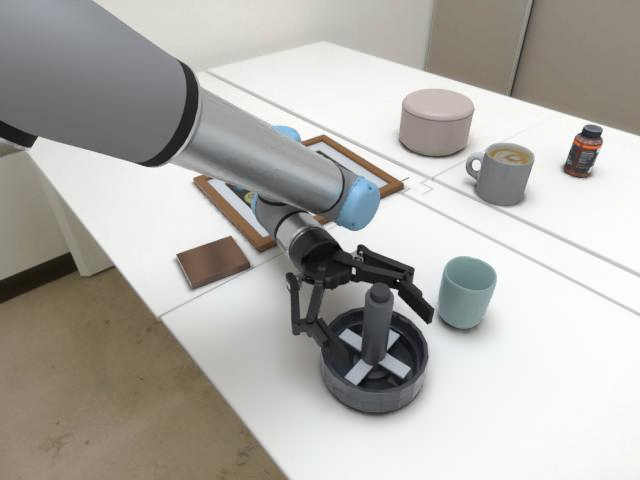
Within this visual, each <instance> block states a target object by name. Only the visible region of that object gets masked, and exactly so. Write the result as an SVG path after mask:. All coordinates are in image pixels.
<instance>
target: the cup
mask: <svg viewBox="0 0 640 480" xmlns="http://www.w3.org/2000/svg"><path fill="white" fill-rule="evenodd" d="M497 282H498V275H497V271H496V270H495V268H494V267H493V266H492V265H491V264H489V262H486V261H484V260H482V259H481V258H477V257H473V256H468V255H460V256H455V257H453V258H451V259H449V260H448V262H446V264H445V266H444V268H443V271H442V275H441V280H440V283H439V289H438V295H437V310H438V314H439V316H440V317H441V319H442V320H443V321H444V322H445V323H447V324H448V325H450V326H451V327H453V328H457V329H463V330H466V329H471V328H473V327H475V326H477V325H478V324H479V323H480V322H481V321H482V319H483V318H484V316H485V315H486V313H487V311H488V309H489V306H490V303H491V302H492V298H493V295H494V293H495V290H496V286H497Z"/></svg>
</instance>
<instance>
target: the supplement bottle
mask: <svg viewBox="0 0 640 480" xmlns="http://www.w3.org/2000/svg"><path fill="white" fill-rule="evenodd" d="M603 132H604V128H603V127H602V126H600V125H597V124H591V123H589V124H584V125H583V127H582V129H581V132H578V133H577V134H576V135H575V136H574V138H573V141H572V143H571V146H570V149H569V151H568V154H567V157H566V159H565V162H564V166H563V170H564V171H565V172H566V173H567V174H569V175H570V176H574V177H579V178H581V177H583V178H584V177H587V176H589V175H590V174H591V172H592V170H593V168H594V166H595V163H596V161H597V158H598V156H599V153H600V151H601V149H602V147H603V144H604V139H603V137H602V135H603Z"/></svg>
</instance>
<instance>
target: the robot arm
mask: <svg viewBox="0 0 640 480" xmlns="http://www.w3.org/2000/svg"><path fill="white" fill-rule="evenodd" d="M38 138H42V139H46V140H49V141H52V142H56V143H60V144H64V145H67V146H71V147H74V148H78V149H81V150H86V151H90V152H94V153H97V154H101V155H104V156H108V157H111V158H113V159H114V158H115V159H119V160H122V161H126V162H128V163H133V164H135V165H139V166H141V167H145V168H147V169H148V168H150V169H155V168H157V169H158V168H160V167H164V166H166V165H169V164H171V165H174V166H178V167H180V168H182V169H185V170H188V171H191V172H194V173H197V174H200V175H205V176H208V177H211V178H214V179H217V180H220V181H223V182H225V183H228V184H231V185H234V186H237V187H240V188H243V189H246V190H248V191H251V192H254V193H255V194H254V196H253V199H252V201H251V209H252V212H253V214H254V216H255V217H256V220H257V221H258V222H259V224H260V225H261V226H262V227H263V228H264V229H265V230H266V232H267V233H268V234H269V235H270V236H271V237H272V239H273V240H274V241H275V242H276V243H277V245H276V246H278V247H279V248H280V250H281V251H282V253H284V255H285V256H286V257H287V259H288V260H289V261H290V262H291V264H292V265H293V267H294V268H296V270H297V271H298V272H299V273H296V274H295V273H294V272H292V271H289V272H287V273H285V285H286V289H287V291H288V293H289V294H290V295H289V296H290V325H291V335H293V336H294V337H298V336H300V335H301V334H304V333H305V334H306V337H308V338H312V339H313V341H314V342H315V343H316V345H317V347H319V349H320V350H321V349H324V348H326V347H328V349H329V350H330V351H331V353H332V354H333V356H334V357H335V358H336V360H337V361H338V362H339V364H340V365H341V366H342V368H345V367H347V366H348V358H349V352H348V351H347V349H346V348H345V347H344V346H343V344H342V343H341V342H340V340H339V339H338V338H337V337H336V335H335V334H334V333H333V331H332V330H331V329H330V328H329V326H328V324H327V322H326V321H325V319H323V317H322V316H321V317H319V315H320V312H321V306H322V303H323V299H324V296H325V291H326V290H330V291H333V290H335V289H337V288H338V287H340V286H345V285H347V284H350V282H351V283H355V284H359V283H366V284H371V285H373V284H375V283H384V284H386V285H388V286H389V288H390V290H396V291H397V296H398V297H399V298H400V299H401V300H402V301H403V302H404V303H405V304H406V305H407V306H408V307H409V308H410V309H411V310H412V311H413V312H414V314H416V315H417V316H418V317H419V318H420V319H421V320H422V321H423V322H424V323H425V324H426V325H427V326H428V325H430V324H432V323H433V319H434V314H435V311H436V309H435V307H433V306H432V305H431V304H430V303H429V302H428V301H427V300H426V299H425V298H424V297H423V296H424V294H423V292H422V290H421V289H419V287H418V286H417V285H416V284H414V277H415V270H416V268H415V267H413V266H411V265H408V264H406V263H403V262H401V261H398V260H396V259H393V258H391V257H388V256H385V255H383V254H381V253H378V252H375V251H373V250H371V249H369V248H368V247H367V246H366V245H365V244H362V243H359V244H358V245H356V250H354V251H351V252H348V251H345V250H344V249H343V248H342V246H341V245H340V243H339V241H338V240H336V239H335V238H334V236H332V235H331V234H330V233H329V231H328V230H326V229H325V227H324V226H323V224H322V225H321V224H320V223H319V222H318V221H317V220H316V219H315V218H314V217H313V216H312V215H311V214H310V213H309V212H311V213H313V214H316V215H318V216H321V217H324V218H326V219H329V220H331V221H330V222H333V223H335V225H336V226H338V227H342V228H345V229H347V230H349V231H351V232H359V231H361V230H363V229H365V228H367V227H368V225H370V223H371V222H372V221H373V220H374V218H375V215H376V214H377V212H378V209H379V207H380V204H381V199H380V191H379V188H378V186H377V185H376V184H374V183H373V182H371V181H369V180H367V179H365V178H364V177H363V176H358V175H356V174H354V173H352V172H350V171H348V170H346V169H344V168H343V167H341V166H339V165H337V164H335V163H333V162H332V161H330V160H329V159H327V158H325V157H323V156H322V155H320V154H318V153H316V152H315V151H313V150H311V149H309V148H308V147H306V146H304V145H302V143H301V142H302V138H301V135H300V133H299V132H298V130H297V129H295V128H293V127H291V126H287V125H279V124H277V125H269V124H268V123H266V122H263V120H260V119H259V118H257V117H255V116H253V115H252V114H249V113H248V112H246V111H244V110H243V109H241V108H239V107H237V106H236V105H234V104H232V103H231V102H229V101H227V100H226V99H224V98H222V97H220V96H218V95H217V94H215V93H213V92H211V91H210V90H208V89H206V88H204V87H202V86H201V83H200V81H199V77H198V76H197V74H196V72H195V70H193V68H191V67H190V66H189V65H187V64H186V63H185V62H183V61H182V60H180V59H178V58H177V57H175V56H173V55H172V54H170V53H168V52H167V51H165V50H164V49H162V48H161V47H160V46H158V45H157V44H155V43H153V42H152V41H151V40H149V39H148V38H147V37H145V36H144V35H143V34H141V33H140V32H139V31H136V30H135V29H133V28H132V27H131V26H130V25H128V24H127V23H126V22H124V21H122V19H120V18H118V17H117V16H116V15H114V14H113V13H112V12H110V11H109V10H107V9H106V8H105V7H103V6H102V5H100V4H99V3H97V2H96V1H94V0H0V162H1V160H2V159H3V158H4V157H6V156H11V155H16V154H20V153H25V152H29V151H30V150H31V149H32V148H33V146H34V144H35V143H36V142H37V139H38ZM308 211H309V212H308ZM353 268H354V270H355V272H354V273H353ZM303 283H305V284H307V285H311V286H313V288H312V292H311V296H310V299H309V303H308V306H307V307H308V308H307V311H306V315H305V317H303V318H301V303H300V290H301V289H302V288H303Z"/></svg>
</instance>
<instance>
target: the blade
mask: <svg viewBox="0 0 640 480" xmlns="http://www.w3.org/2000/svg"><path fill="white" fill-rule="evenodd" d="M394 302H395V295H394V293H393V291H392V290H391V288H389V286H388V285H386V284H384V283H375V284H371V287H369V288H368V289H367V290H366V292H365V295H364V306H363V307H364V318H363V331H362V337H360V336H358V335H357V334H355V333H353V332H352V331H350V330H349V329H346V330H345V331H344V332H343V333H342V334H341V335H340V336H339V339H341V340H342V341H344V342H345V343H347V344H348V345H350V346H352V347H353V348H355V349H356V350H358V351H357V352H356V353H355V355H354V358H353V368H352V370H351V371H350V372H349V373H348V374H347V375H346V376H345V377H344V379H345V380H347V381H348V382H349V383H352V384H354V385H358V384H359V383H360V382H361V381H362V380H366V381H369V382H379V381H382V380H384V379H385V378H387V377H388V376H389V374H390V372H392V373H394V374H395V375H397V376H398V377H400V378H401V379H404V378H405V377H406V375H407V374H408V373H409V372H410V370H411V368H410V367H408V366H407V365H405V364H403V363H402V362H400V361H399V360H397V359H395V358H394V357H392V356H390V355H389V354H388V353H387V351H388V350H389V348H390V347H391V346H392V345H393V344H394V343H395V342H396V340H397V339H398V338H399V337H400V335H399V334H397V333H395V332H394V331H392V330H390V325H391V317H392V310H393V309H394ZM393 311H394V310H393Z"/></svg>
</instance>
